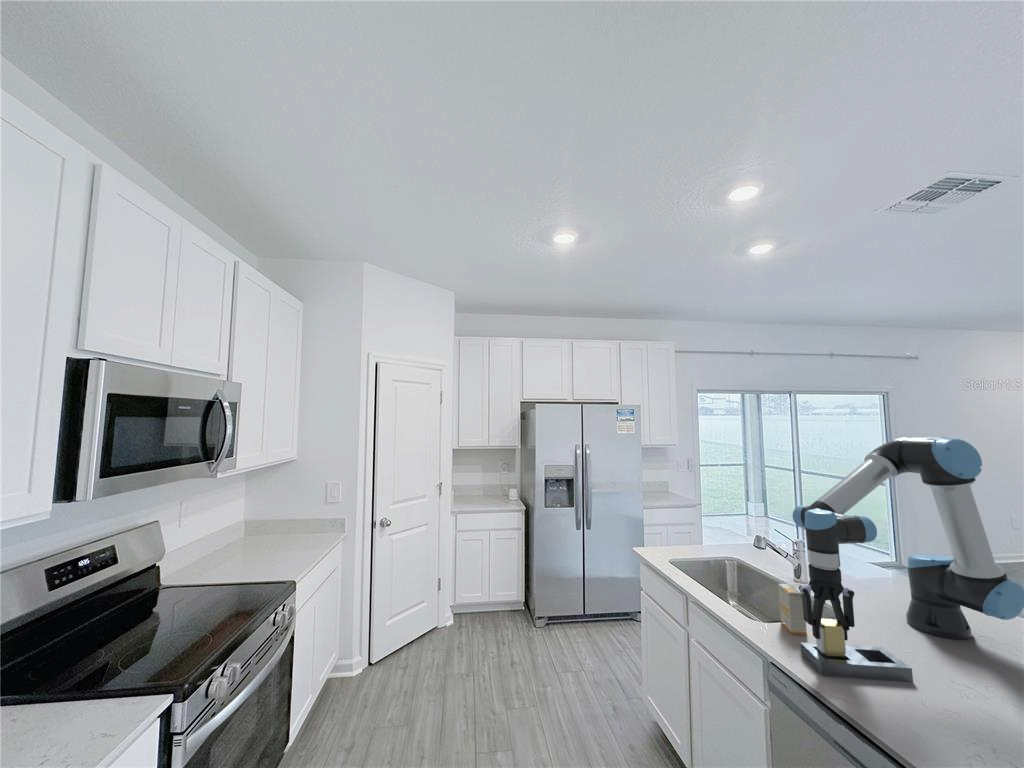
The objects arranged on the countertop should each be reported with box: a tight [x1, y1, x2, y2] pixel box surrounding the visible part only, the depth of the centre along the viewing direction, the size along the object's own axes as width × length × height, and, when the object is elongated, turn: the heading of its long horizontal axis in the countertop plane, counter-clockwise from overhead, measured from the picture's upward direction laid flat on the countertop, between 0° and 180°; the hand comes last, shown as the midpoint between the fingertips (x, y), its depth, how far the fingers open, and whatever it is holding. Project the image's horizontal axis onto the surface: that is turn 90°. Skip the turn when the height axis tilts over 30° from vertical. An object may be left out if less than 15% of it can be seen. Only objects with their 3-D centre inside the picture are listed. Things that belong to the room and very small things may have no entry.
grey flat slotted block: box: [799, 641, 914, 683], centre depth 117 cm, size 22×10×4 cm, turn 81°
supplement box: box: [777, 583, 808, 636], centre depth 139 cm, size 8×5×13 cm, turn 168°
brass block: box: [820, 618, 845, 657], centre depth 118 cm, size 4×4×8 cm
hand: (831, 650), depth 118 cm, fingers closed on brass block, 4 cm apart
